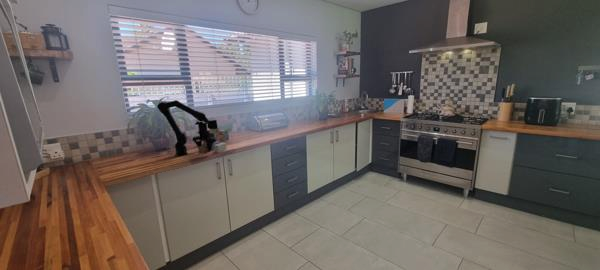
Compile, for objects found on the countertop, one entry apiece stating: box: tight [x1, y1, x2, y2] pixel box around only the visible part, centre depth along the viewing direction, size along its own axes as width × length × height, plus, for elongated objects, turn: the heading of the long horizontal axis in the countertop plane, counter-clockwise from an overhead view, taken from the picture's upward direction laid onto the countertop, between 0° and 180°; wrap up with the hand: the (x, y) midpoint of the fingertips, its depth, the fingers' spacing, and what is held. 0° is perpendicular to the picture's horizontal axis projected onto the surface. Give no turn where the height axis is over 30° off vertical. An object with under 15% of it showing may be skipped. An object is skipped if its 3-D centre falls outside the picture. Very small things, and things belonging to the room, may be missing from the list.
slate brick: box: [211, 141, 222, 151], centre depth 193 cm, size 8×4×5 cm, turn 146°
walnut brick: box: [197, 144, 213, 155], centre depth 184 cm, size 8×4×5 cm, turn 153°
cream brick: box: [213, 142, 227, 153], centre depth 187 cm, size 8×4×5 cm, turn 153°
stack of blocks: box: [202, 127, 230, 145], centre depth 214 cm, size 21×6×12 cm, turn 143°
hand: (205, 150), depth 184 cm, fingers open, 9 cm apart
